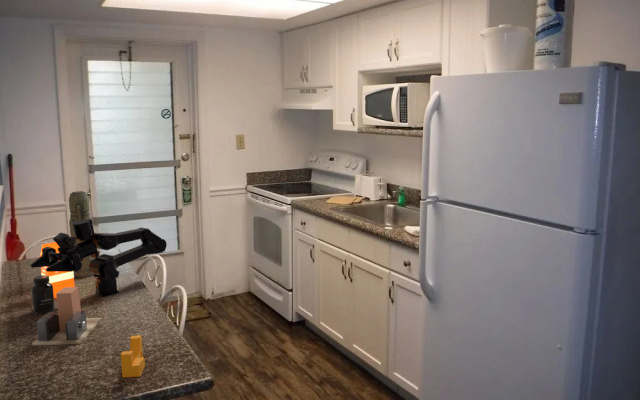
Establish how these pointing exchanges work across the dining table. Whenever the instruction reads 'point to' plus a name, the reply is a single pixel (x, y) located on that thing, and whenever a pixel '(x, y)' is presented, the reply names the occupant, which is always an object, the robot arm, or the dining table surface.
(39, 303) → the supplement bottle
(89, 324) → the base board
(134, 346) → the orange stepped block
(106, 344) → the dining table surface
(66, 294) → the peg post
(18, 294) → the dining table surface
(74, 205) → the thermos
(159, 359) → the dining table surface
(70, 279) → the orange juice
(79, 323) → the band block
